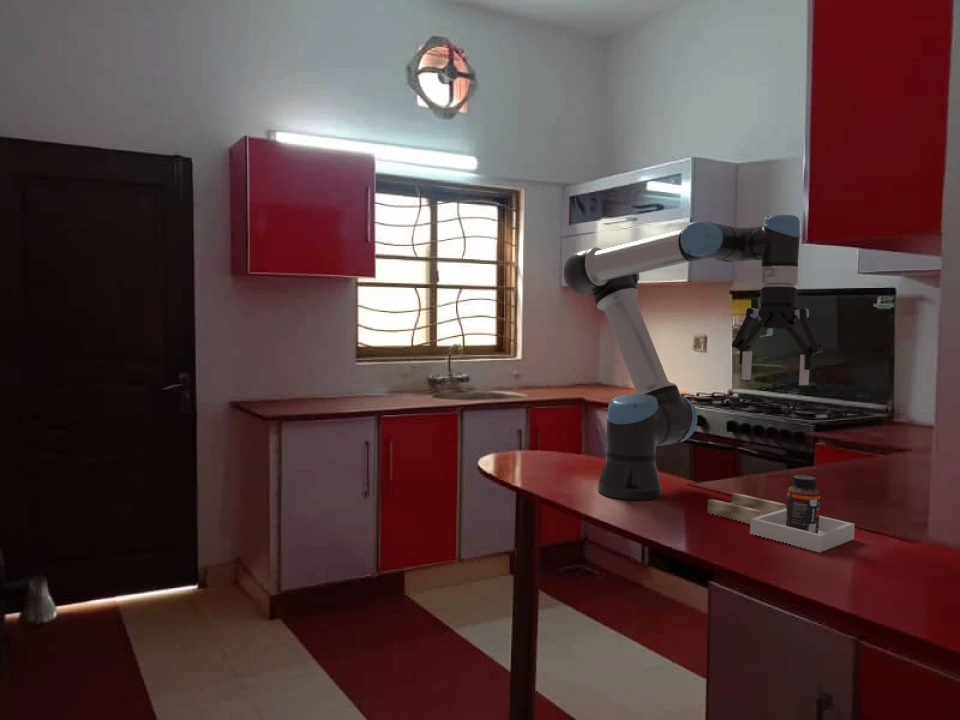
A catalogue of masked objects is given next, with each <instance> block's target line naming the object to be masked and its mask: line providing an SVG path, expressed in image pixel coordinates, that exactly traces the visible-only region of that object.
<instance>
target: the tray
mask: <svg viewBox="0 0 960 720" xmlns="http://www.w3.org/2000/svg"><path fill="white" fill-rule="evenodd" d="M786 514H787V507H786V509H782V510H779V511H775V512H772V513H769V514H765V515H763V514H762V516H758V517H755V518H751V522H750V524H749V525H750V528H749V534H750V535H752V534H753V535H752V536H755V535H757V536H756V537H759V536H761V537H760V538H763V537H765V538H764V539H767V538H769V539H768V540H770V539H773V540H772V541H774V540H776V541H775V542H778V541H781V542H780V543H782V542H784V543H783V544H785V543H787V544H786V545H789V544H791V545H790V546H793V545H794V546H793V547H797V546H798V547H797V548H800V547H801V548H802V549H804V548H805V549H804V550H808V551H812V552H816V553H822V552H824V551H825V552H826V551H827V550H829V549H832V548H836V547H837V546H840V545H843V544H845V543H848V542H851V541H852V540H854V539H855V523H853V522H850V521H849V522H848V521H843V520H840V519H835V518H832V517H827V516H823V515H819V530H818V534H816V533H812V532H808V531H804V530H800V529H796V528H792V527H788V526H786Z"/></svg>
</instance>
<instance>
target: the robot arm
mask: <svg viewBox="0 0 960 720" xmlns="http://www.w3.org/2000/svg"><path fill="white" fill-rule="evenodd" d="M800 222H801V221H800V218H799V217H798V216H796V215H794V214H793V215H792V214H772V215H767V216H766V217H765V216H764V218H763V224H762V225H760V226H753V227H752V226H751V227H750V226H749V227H737V226H731V225H726V224H719V223H715V222H712V221H708V220H704V221H700V220H699V221H698V220H697V221H693V222H690V223H689V224H688V225H686V227H684V228H683V229H678V230H674V231H670V232H667V233H663V234H659V235H655V236H652V237H648V238H643V239H639V240H635V241H631V242H628V243H624V244H621V245H620V244H619V245H617V246H616V245H615V246H613V247H608V248H603V249H601V248H599V247H591V248H589V249H583V250H580V251H576V252H575V253H573V254H572V255H571V256H569V258H567V260H566V261H565V264H564V267H563V279H564V281H565V284H566V285H567V287H568V288H569V289H570V290H572V292H573V293H576V294H578V295H583V296H591V297H592V299H593V300H594V304H595V306H596V308H597V309H598V310H599V311H601V312H604V314H605V316H606V318H607V320H608V323H609V326H610V329H611V331H612V333H613V336H614V339H615V341H616V344H617V346H618V348H619V352H620V355H621V357H622V359H623V361H624V364H625V367H626V370H627V372H628V376H629V378H630V379H631V382H632V385H633V388H634V390H635V393H634V394H633V393H632V394H623V395H618V396H616V397H614V398H612V399H611V400H610V401H609V403H608V408H607V413H606V421H607V422H606V426H607V427H606V455H605V456H606V457H605V462H604V464H603V468H602V470H601V473H600V477H599V479H598V481H597V492H598V493H600V494H601V495H603V496H606V497H610V498H614V499H620V500H621V499H622V500H629V501H630V500H631V501H632V500H633V501H645V500H646V501H647V500H655V499H658V498H660V497H661V496H662V493H663V492H662V489H663V485H662V483H661V480H660V476H659V472H658V467H657V464H656V454H657V453H656V451H657V447H661V446H667V445H675V444H678V443H682V442H684V441H687V440H688V439H689V438H690V437H691V436H692V435H693V434H694V432H695V430H696V427H697V426H698V425H697V424H698V413H697V410H696V407H695V405H694V404H693V402H692V401H691V400H690V399H687V398H686V397H684V396H682V395H681V393H680V391H679V388H678V386H677V384H676V383H674V382H670V380H669V379H668V377H667V375H666V373H665V370H664V367H663V365H662V363H661V360H660V357H659V355H658V353H657V350H656V347H655V344H654V343H653V340H652V338H651V337H652V336H650V332H649V331H648V327H647V325H646V323H645V319H644V318H643V315H642V313H641V310H640V308H639V305H638V303H637V299H636V298H637V297H638V295H639V290H638V287H639V281H640V274H641V273H644V272H649V271H654V270H657V269H663V268H667V267H672V266H676V265H681V264H685V263H689V262H695V261H701V260H705V259H715V261H717V262H723V263H724V262H725V263H726V262H727V263H734V262H744V261H745V262H747V261H761V276H760V278H761V279H760V284H761V285H763V287H761V288H760V295H759V296H760V297H759V303H760V304H759V305H760V307H759V309H758V308H756V307H747V308H746V312H745V317H744V320H742V323H741V326H740V327H739V329H738V332H737V333H736V335H735V337H734V339H733V341H732V343H731V347H732V348H734V349H737V350H738V351H739V356H738V357H739V361H738V363H739V365H740V366H741V381H749V380H752V361H753V351H751V348H752V347H753V346H754V344H755V343H756V342H757V341H758V340H759V339H760V338H761V336H762V335H763V334H764V333H765V331H767V330H768V329H778V330H779V329H780V330H781V329H783V330H786V331H787V332H788V333H789V334H790V336H791V337H792V339H793V340H794V341H795V343H796V344H797V345H798V347H799V348H800V349H801V350H802V352H803V353H802V354H800V355H799V356H800V357H799V374H798V375H799V376H798V380H799V381H798V385H799V386H809V384H810V383H809V381H810V371H811V370H813V369H814V361H815V360H814V359H815V355H816V354H819V353H823V352H824V350H825V349H824V347H823V346H824V345H823V344H822V342H821V339H820V337H819V334H818V332H817V330H816V328H815V325H814V323H813V321H812V316H811V315H812V314H811V310H810V309H809V308H800V309H797V308H796V304H797V300H798V299H797V297H798V296H797V295H798V289H797V287H795V286H797V285H798V282H799V281H798V279H799V278H798V277H799V275H798V274H799V272H798V271H799V255H800V254H799V253H800V240H801V239H800V238H801V227H800V226H801V223H800ZM758 317H759V318H760V320H759V321H758V322H757V324H756V325H755V327H754V328H753V325H754V324H755V321H756V319H757V318H758ZM796 317H797V318H798V320H800V323H801V326H802V328H803V331H804V333H805V335H806V337H805V335H804V334H803V333H802V331H801V330H800V329H799V326H798V324H797V323H796V322H795V318H796ZM752 328H753V330H752V331H751V329H752Z"/></svg>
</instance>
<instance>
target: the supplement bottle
mask: <svg viewBox="0 0 960 720" xmlns="http://www.w3.org/2000/svg"><path fill="white" fill-rule="evenodd" d="M816 480H817V479H816V477H814V476H810V475H803V474H801V475H800V474H799V475H793V481H792V482H793V484H792V485H791V486H789V487H788V489H787V495H786V496H787V497H786V499H787V500H786V508H787V514H786V526H788V527H792V528H796V529H800V530H804V531H808V532H812V533H816V534H818V530H819V516H820V510H821V509H820V508H821V492H820V491H821V490H820V489H818V488H817V485H816V484H817V481H816Z"/></svg>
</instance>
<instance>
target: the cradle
mask: <svg viewBox="0 0 960 720" xmlns="http://www.w3.org/2000/svg"><path fill="white" fill-rule="evenodd" d="M786 508H787V503H782V502H778V501H773V500H768V499H764V498H759V497H755V496H751V495H747V494H742V493H738V492H735V493H731V502H726V501H722V500H718V499H714V498H709V499H707V514H708V513H710V514H709V515H712V514H714V515H713V516H716V515H718V516H717V517H720V516H722V517H721V518H723V517H726V518H725V519H727V518H729V519H728V520H731V519H733V520H732V521H735V520H737V521H736V522H739V521H741V522H740V523H743V522H745V523H744V524H747V523H748V524H747V525H750V522H751V518H755V517H758V516H762V515H765V514H769V513H772V512H775V511H779V510H782V509H786Z"/></svg>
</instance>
